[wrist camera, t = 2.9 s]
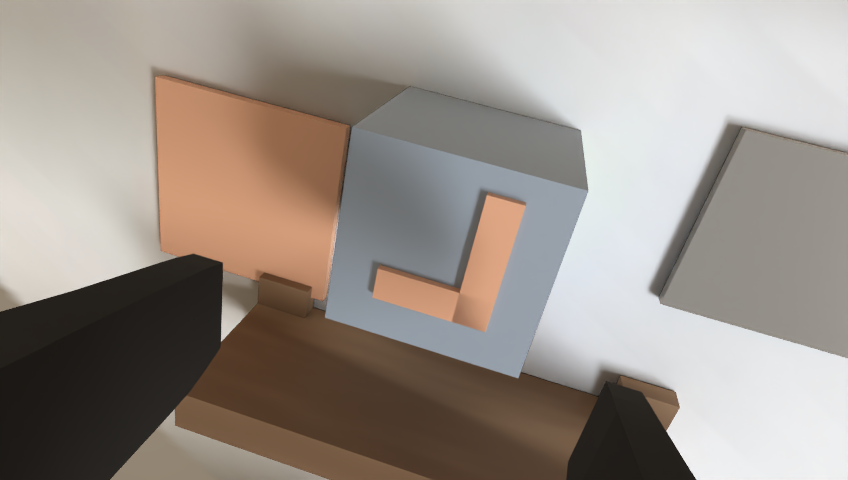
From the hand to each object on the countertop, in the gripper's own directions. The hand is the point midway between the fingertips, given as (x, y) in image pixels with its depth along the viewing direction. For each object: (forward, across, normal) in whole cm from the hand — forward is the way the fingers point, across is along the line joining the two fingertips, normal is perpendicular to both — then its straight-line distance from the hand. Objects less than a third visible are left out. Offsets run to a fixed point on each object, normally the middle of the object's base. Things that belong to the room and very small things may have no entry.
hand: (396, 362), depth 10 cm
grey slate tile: (+9, -10, -1) cm, 14 cm away
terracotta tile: (+9, +8, +2) cm, 13 cm away
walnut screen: (+9, -1, +8) cm, 12 cm away
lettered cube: (+10, 0, 0) cm, 10 cm away
